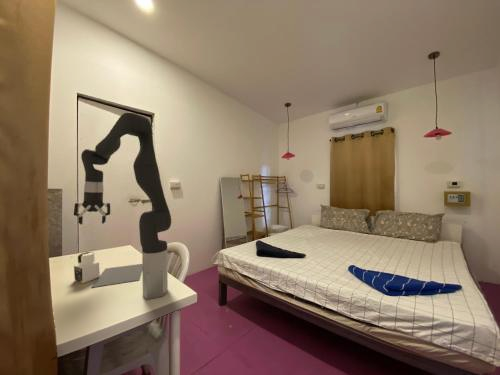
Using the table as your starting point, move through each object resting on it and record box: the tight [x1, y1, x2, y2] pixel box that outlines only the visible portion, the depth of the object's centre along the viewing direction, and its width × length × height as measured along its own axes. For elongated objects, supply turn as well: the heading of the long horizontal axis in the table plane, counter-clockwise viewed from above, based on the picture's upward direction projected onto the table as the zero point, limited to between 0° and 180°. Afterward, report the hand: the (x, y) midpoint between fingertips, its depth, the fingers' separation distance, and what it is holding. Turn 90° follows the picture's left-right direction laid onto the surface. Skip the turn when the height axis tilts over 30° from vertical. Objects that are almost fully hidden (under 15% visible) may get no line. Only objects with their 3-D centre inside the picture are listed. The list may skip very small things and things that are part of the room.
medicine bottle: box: [73, 251, 101, 284], centre depth 97 cm, size 7×7×12 cm
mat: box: [90, 263, 142, 289], centre depth 102 cm, size 22×18×1 cm
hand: (92, 223), depth 102 cm, fingers open, 8 cm apart
